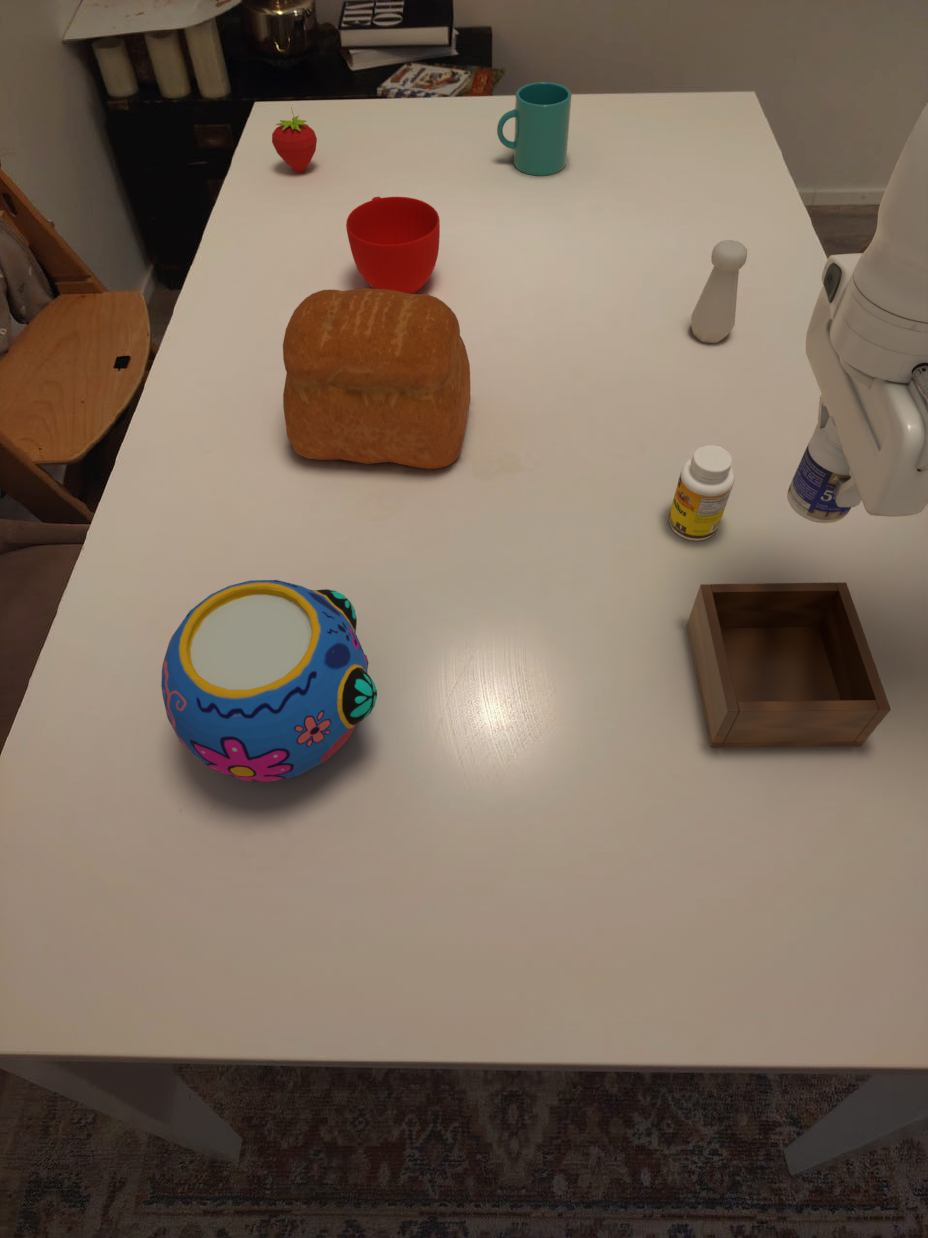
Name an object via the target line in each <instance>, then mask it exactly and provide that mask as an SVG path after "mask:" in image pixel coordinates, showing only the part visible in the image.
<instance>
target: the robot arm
mask: <svg viewBox="0 0 928 1238" xmlns="http://www.w3.org/2000/svg"><path fill="white" fill-rule="evenodd" d="M821 282H822V288H821V289H820V291H819V294H818V296H817V299H816V302H815V304H814V306H813V307H814V308H813V311H812V314H811V317H810V320H809V324H808V327H807V331H806V335H805V355H806V358H807V360H808V363H809V366H810V368H811V371H812V373H813V375H814V378H815V381H816V384H817V386H818V389H819V391H820V396H819V402H818V413H817V424H816V426H815V428H814V431H813V433H812V436H813V435H814V434H815V433H816V432H817V431H818V430H820V429H822V428H824V427H825V426H826V424H827V422H828V420H829V418H830V416H832V418H833V421H834V423H835V426H836V429H837V436H838V439H839V442H840V444H841V447H842V449H843V452H844V455H845V457H846V460H847V463H848V465H849V468H850V471H849V475H850V477H851V478H850V479H847V478H839V479H838V481H837V483H836V486H835V488H834V489H833V495H834V498H835V501H836V504H837V506H839V507H851V508H856V507H857V506H859V505H860V504H861V503H862V504H863V507H864V509H865V511H866V513H867V514H868V515H870V516H875V517H889V518H890V517H892V518H893V517H897V518H898V517H909V516H915V515H918V514H921V513H922V512H923V511H924V510H925V508H926V507H927V505H928V101H927V102H926V104H925V106H924V107H923V108H922V111H921V113H920V114H919V117H918V118H917V121H916V122H915V123H914V126H913V127H912V129H911V132H910V134H909V136H908V138H907V140H906V142H905V144H904V146H903V148H902V150H901V154H900V155H899V157H898V159H897V161H896V164H895V166H894V168H893V171H892V173H891V176H890V178H889V181H888V183H887V186H886V188H885V190H884V193H883V196H882V198H881V200H880V203H879V207H878V211H877V224H876V229H875V233H874V235H873V238H872V240H871V241H870V243H869V244H868V246H867V248H866V249H865V250H864V251H863V252H857V253H856V252H855V253H842V254H841V253H840V254H831V255H829V257H827V260H826V262H825V264H824V267H823V270H822V274H821Z"/></svg>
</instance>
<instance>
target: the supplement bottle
mask: <svg viewBox="0 0 928 1238" xmlns="http://www.w3.org/2000/svg"><path fill="white" fill-rule="evenodd" d="M732 464H733V458H732V455H731V454H730V452H728V450H726V449H724V448H723V447H721V446H718V445H712V444H710V445H709V444H707V445H702V446H700V447H698V448H697V449H696V450H695V451H694V453H693V454H692V458H690V459H688V460H687V461H685V463H684V464H683V465H682V468H681V470H680V473H679V477H678V480H677V484H676V489H675V492H674V496H673V500H672V504H671V507H670V511H669V515H668V522H669V523H668V524H669V526H670V528H671V530H672V531H673V532H674V533H675V534H676V535H678V536H679V537H681V538H683V539H686V540H689V541H698V542H699V541H705V540H707V539H709V538H711V537H713V536H714V535H715V534H716V532H717V531H718V530H719V526H720V524H721V521H722V518H723V515H724V513H725V510H726V507H727V505H728V504H727V503H728V501H729V498H730V495H731V492H732V490H733V486H734V484H735V473H734V469H732Z"/></svg>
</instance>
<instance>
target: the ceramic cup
mask: <svg viewBox="0 0 928 1238" xmlns="http://www.w3.org/2000/svg"><path fill="white" fill-rule="evenodd" d="M439 215H440V214H439V212H438V211H437V210H436V209H435V207H433V206H432V205H431V204H429V203H427V202H426V201H423V200H421V199H417V198H413V197H407V196H387V197H385V196H384V197H380V196H373V197H372V198H371V200H369V201H366V202H364V203H361V204H360V205H358V206H357V207H355V208H354V209H353V210H352V211H351V212H350V213H349V214H348V217H347V218H346V223H345V227H346V228H345V229H346V234H347V239H348V243H349V247H350V251H351V255H352V258H353V261H354V264H355V266H356V268H357V270H358V272H359V274H360V275H361V277H362V278H363V280H364V281H365V282H366V283H367V284H368V285H369V286H370V287H371V288H372V289H387V290H394V291H399V292H404V293H409V294H417V292H419V291H420V289H421V288H423V287H424V285H425V284H426V283H427V282H428V280H429V279H430V278H431V276H432V274H433V273H434V269H435V266H436V264H437V261H438V257H439V250H440V237H441V236H440V234H441V233H440V232H441V230H440V229H441V227H440V225H441V224H440V223H441V221H440V216H439Z"/></svg>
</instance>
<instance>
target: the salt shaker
mask: <svg viewBox="0 0 928 1238" xmlns="http://www.w3.org/2000/svg"><path fill="white" fill-rule="evenodd" d="M710 259H711V260H710V261H711V264H712V266H713V268H712V270H711V272H710V274H709V276H708V278H707V281H706V283H705V285H704V287H703V289H702V292H701V293H700V295H699V298H698V300H697V303H696V304H695V307H694V309H693V310H692V312H691V315H690V316H691V317H690V326H691V331H692V335H693V336H694V337H695V338H696V339H697V340H699V341H700V342H701V343H708V344H717V343H719V342H721V341H722V340H724V339H725V338H726V337H727V336H728V334H730V332H732V330H733V328H734V327H735V325H736V324H735V323H736V311H737V301H738V300H737V298H738V286H739V274H740V272H739V271H740V269H742V268H743V267H744V265H746V262H747V259H748V249H747V247H746V246H745V245H744V243H742V242H740V241H738V240H733V239H725V240H721V241H719V242H718V243H717V244H715V246H713V249H712V251H711V258H710Z"/></svg>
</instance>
